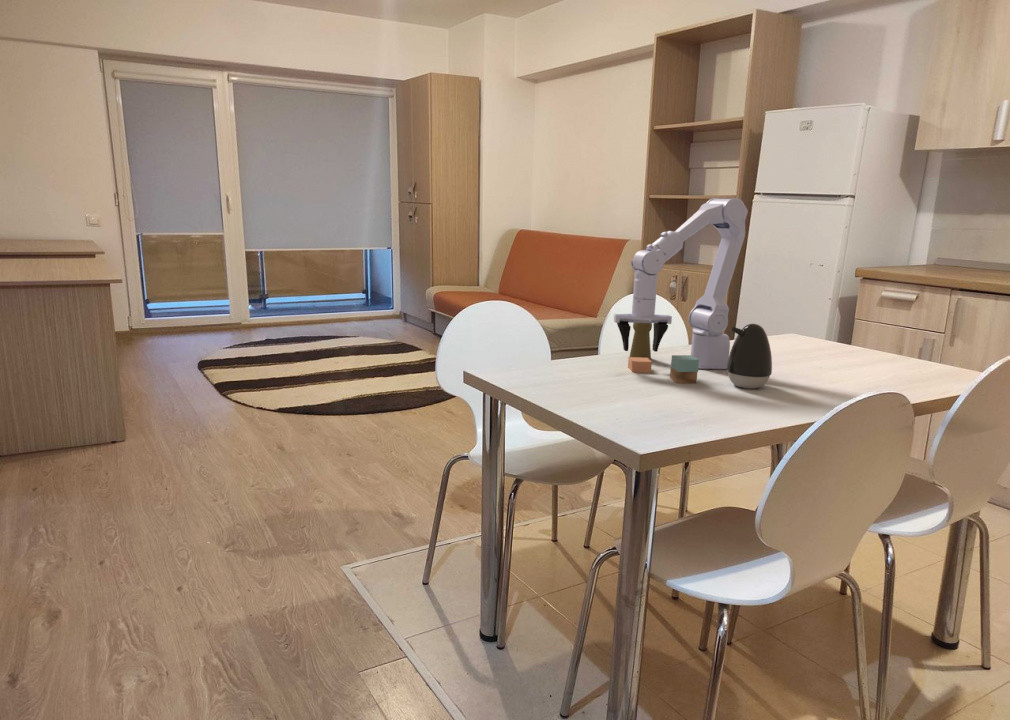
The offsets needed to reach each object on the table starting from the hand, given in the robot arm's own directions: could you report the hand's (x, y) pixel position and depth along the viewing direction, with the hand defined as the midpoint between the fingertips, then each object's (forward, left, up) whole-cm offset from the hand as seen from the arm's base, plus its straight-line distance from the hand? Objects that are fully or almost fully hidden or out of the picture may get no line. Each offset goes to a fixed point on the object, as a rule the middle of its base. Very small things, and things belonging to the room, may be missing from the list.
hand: (640, 350), depth 179 cm
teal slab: (-8, +11, -2) cm, 14 cm away
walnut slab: (-8, +11, -5) cm, 15 cm away
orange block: (0, 0, -5) cm, 5 cm away
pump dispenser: (-22, +16, -5) cm, 28 cm away
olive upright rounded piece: (-4, -14, -5) cm, 16 cm away
